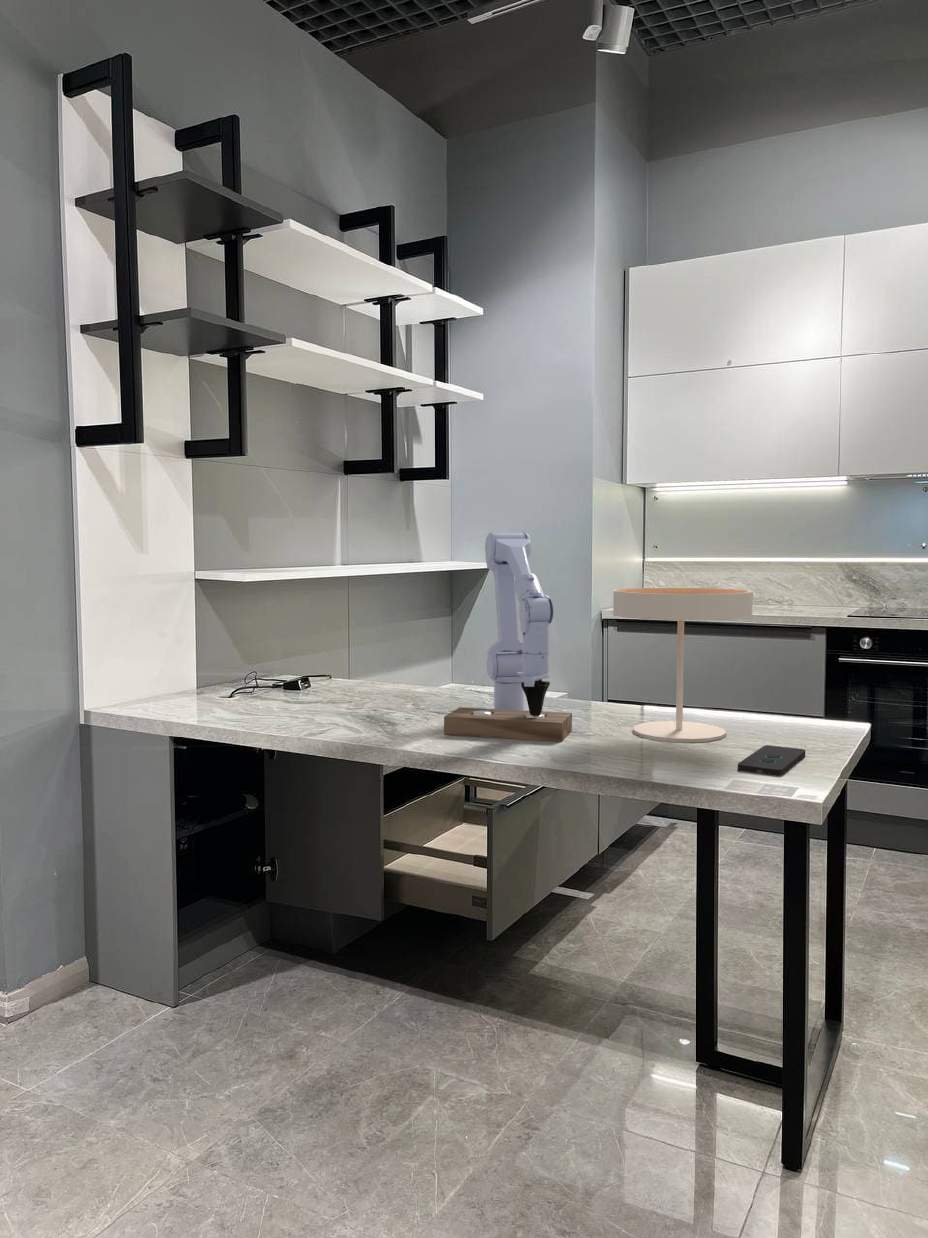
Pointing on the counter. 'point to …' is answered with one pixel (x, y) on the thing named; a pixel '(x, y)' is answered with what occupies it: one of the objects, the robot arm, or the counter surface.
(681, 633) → the desk lamp
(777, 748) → the smart home device
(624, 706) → the counter surface
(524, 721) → the wooden peg board
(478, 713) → the peg
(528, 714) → the peg
